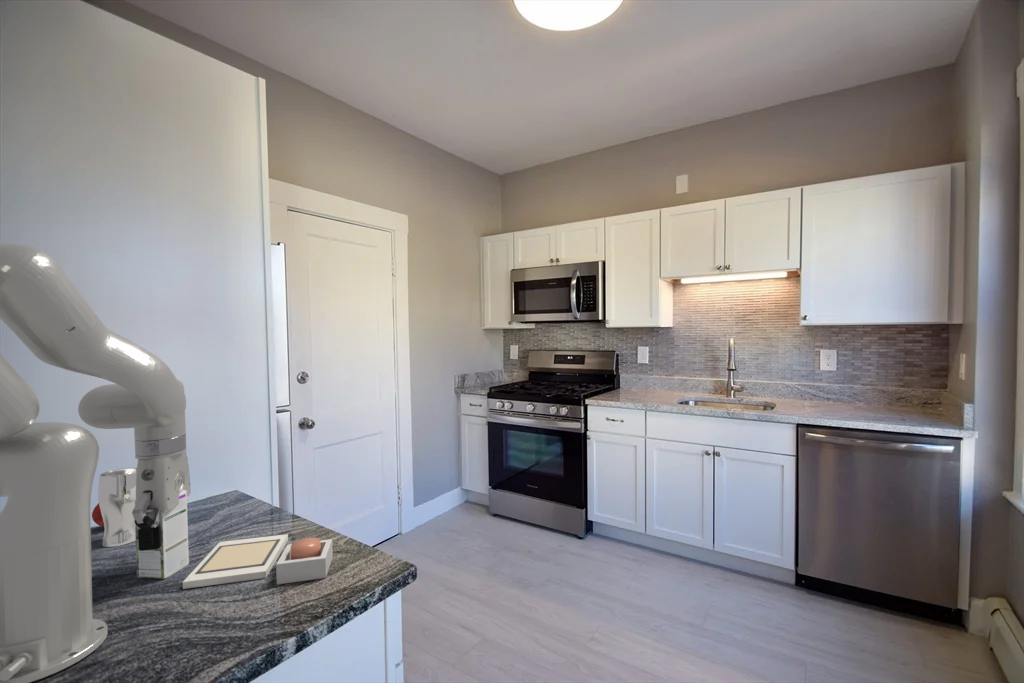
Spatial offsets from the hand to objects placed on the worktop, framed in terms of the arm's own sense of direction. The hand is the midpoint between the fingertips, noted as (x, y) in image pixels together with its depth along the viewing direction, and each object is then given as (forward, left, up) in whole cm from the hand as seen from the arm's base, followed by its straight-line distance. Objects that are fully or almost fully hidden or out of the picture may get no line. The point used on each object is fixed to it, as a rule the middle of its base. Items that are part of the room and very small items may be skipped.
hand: (164, 536), depth 83 cm
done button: (-8, -26, -4) cm, 27 cm away
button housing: (-8, -26, -6) cm, 28 cm away
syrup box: (-1, 0, -6) cm, 6 cm away
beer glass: (+17, +16, -6) cm, 25 cm away
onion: (+26, +23, -6) cm, 36 cm away
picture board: (-1, -13, -6) cm, 14 cm away
